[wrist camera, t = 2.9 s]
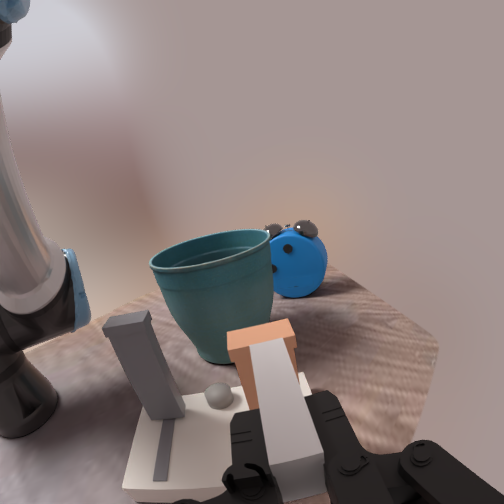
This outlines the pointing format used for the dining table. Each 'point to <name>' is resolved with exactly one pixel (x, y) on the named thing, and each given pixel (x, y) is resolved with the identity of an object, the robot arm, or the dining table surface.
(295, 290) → the alarm clock
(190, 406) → the console
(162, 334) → the dining table surface
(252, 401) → the terracotta paddle
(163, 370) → the gray capped upright block
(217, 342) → the flower pot
